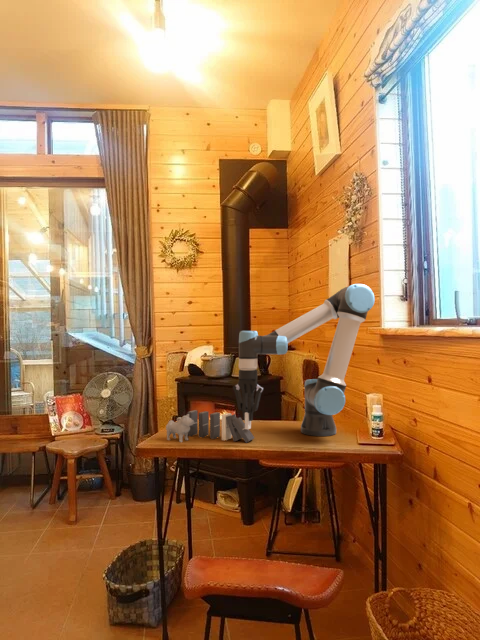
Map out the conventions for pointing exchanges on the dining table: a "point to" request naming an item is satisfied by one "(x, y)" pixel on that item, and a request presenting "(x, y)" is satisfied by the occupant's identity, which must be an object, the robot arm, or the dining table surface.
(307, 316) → the robot arm
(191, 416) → the domino
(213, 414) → the domino
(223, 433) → the cream domino
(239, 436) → the domino
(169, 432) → the grey dog figurine
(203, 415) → the domino
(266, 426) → the dining table surface
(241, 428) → the domino
